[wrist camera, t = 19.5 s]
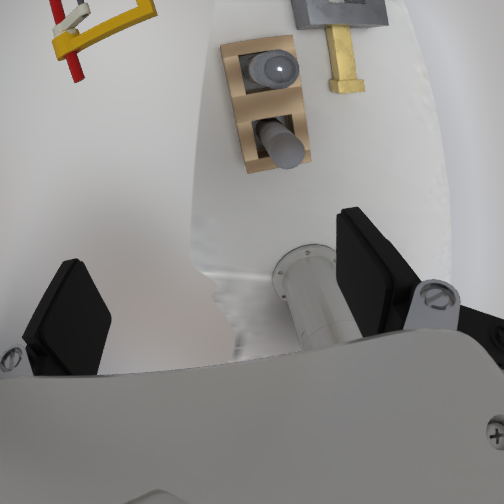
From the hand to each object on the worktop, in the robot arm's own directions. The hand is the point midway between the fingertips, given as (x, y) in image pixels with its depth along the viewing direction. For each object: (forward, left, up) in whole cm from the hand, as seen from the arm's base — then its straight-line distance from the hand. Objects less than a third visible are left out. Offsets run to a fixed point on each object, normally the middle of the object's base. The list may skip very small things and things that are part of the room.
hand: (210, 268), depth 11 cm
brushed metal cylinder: (+5, -7, -32) cm, 33 cm away
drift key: (+7, -18, -32) cm, 37 cm away
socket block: (+15, -18, -32) cm, 39 cm away
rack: (+1, -7, -32) cm, 33 cm away
